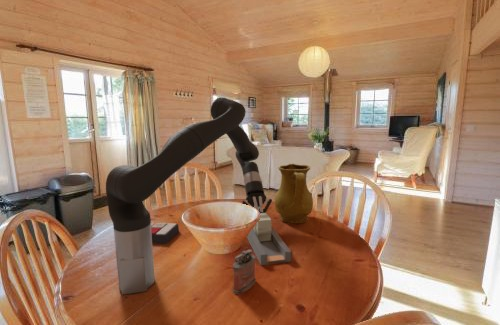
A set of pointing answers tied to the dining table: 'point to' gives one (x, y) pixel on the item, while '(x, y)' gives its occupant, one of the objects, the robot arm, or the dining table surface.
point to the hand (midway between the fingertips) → (261, 222)
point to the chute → (269, 249)
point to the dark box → (163, 232)
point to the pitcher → (293, 194)
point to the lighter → (244, 272)
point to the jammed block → (263, 228)
